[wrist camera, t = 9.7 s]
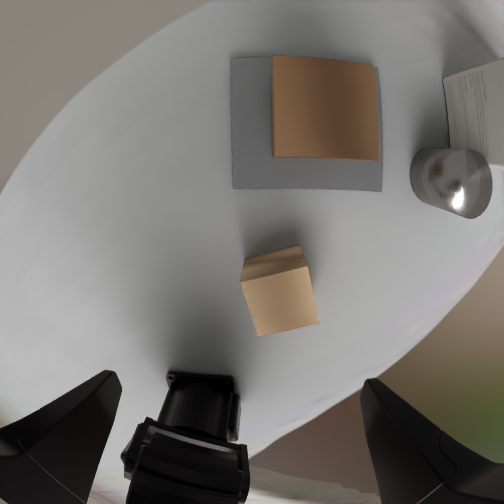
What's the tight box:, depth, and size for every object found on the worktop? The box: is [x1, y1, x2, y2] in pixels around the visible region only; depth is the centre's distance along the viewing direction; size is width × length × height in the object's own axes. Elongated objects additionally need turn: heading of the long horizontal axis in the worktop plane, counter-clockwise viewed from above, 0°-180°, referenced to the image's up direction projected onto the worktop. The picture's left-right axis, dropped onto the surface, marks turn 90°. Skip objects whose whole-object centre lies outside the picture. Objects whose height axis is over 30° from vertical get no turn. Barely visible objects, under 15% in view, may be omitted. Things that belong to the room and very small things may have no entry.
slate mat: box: [231, 57, 383, 192], centre depth 16 cm, size 10×9×1 cm
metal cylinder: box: [410, 148, 492, 219], centre depth 15 cm, size 4×4×5 cm
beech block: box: [240, 246, 319, 336], centre depth 18 cm, size 4×4×4 cm
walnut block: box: [270, 56, 379, 161], centre depth 13 cm, size 5×5×5 cm
